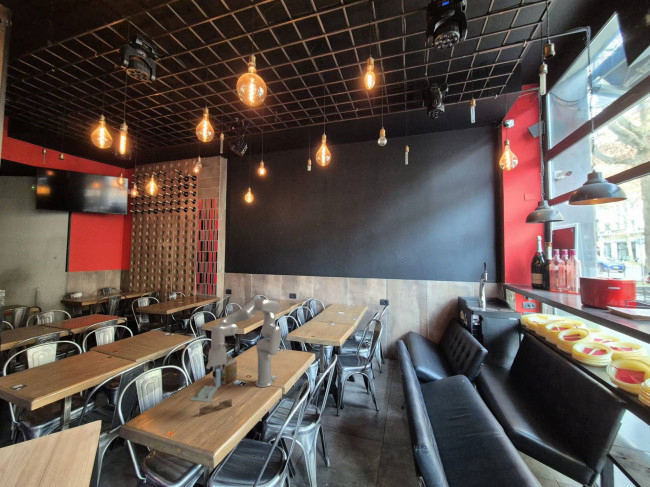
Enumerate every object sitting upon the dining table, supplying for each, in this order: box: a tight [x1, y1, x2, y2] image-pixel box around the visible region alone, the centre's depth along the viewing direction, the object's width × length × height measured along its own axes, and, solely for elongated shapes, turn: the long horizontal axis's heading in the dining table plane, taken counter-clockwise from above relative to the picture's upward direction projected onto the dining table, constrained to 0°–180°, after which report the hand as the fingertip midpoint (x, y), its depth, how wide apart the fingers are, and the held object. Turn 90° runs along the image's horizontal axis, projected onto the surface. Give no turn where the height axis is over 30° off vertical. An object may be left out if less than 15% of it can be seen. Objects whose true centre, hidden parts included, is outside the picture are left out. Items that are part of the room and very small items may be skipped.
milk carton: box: [218, 354, 238, 387], centre depth 195 cm, size 11×11×19 cm
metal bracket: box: [189, 384, 219, 403], centre depth 174 cm, size 14×6×15 cm
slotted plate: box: [213, 366, 221, 387], centre depth 159 cm, size 10×2×9 cm, turn 32°
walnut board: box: [198, 398, 233, 417], centre depth 157 cm, size 18×1×4 cm, turn 122°
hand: (217, 376), depth 159 cm, fingers closed on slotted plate, 2 cm apart
